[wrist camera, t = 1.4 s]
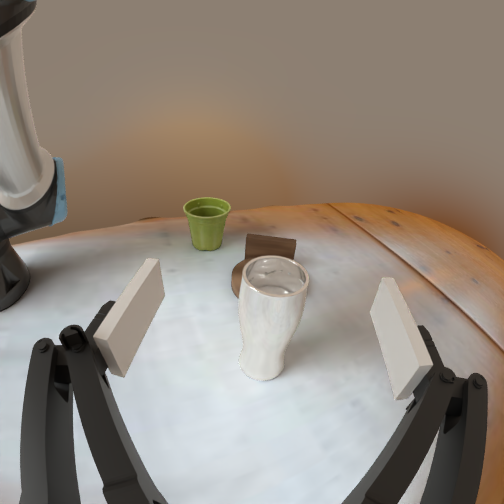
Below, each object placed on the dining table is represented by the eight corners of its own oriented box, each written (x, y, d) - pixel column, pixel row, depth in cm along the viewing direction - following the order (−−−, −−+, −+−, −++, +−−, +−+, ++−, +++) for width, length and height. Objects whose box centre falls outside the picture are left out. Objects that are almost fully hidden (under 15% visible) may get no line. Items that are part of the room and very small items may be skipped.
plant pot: (238, 244, 60) (240, 206, 55) (205, 262, 54) (204, 221, 49) (208, 228, 65) (208, 194, 60) (176, 243, 58) (173, 206, 54)
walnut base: (300, 313, 44) (307, 284, 41) (225, 303, 44) (226, 274, 41) (298, 267, 54) (304, 240, 51) (237, 259, 55) (239, 232, 52)
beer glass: (229, 377, 33) (231, 289, 25) (241, 338, 39) (249, 249, 31) (283, 388, 32) (309, 304, 24) (290, 347, 38) (312, 260, 30)
